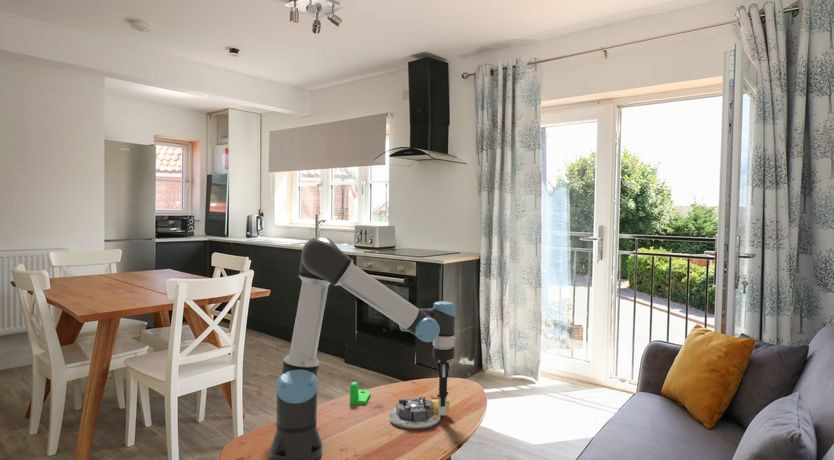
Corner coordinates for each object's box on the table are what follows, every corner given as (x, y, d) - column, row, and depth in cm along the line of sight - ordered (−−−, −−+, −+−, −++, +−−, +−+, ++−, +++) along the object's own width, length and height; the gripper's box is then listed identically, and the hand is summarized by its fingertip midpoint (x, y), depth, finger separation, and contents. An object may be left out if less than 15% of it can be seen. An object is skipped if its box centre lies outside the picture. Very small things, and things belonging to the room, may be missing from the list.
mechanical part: (365, 406, 182) (365, 385, 182) (349, 405, 183) (350, 384, 183) (371, 395, 194) (371, 375, 194) (356, 394, 195) (356, 374, 195)
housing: (398, 432, 159) (398, 414, 159) (383, 412, 176) (383, 396, 176) (456, 424, 166) (456, 407, 166) (436, 405, 183) (436, 390, 183)
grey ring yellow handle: (402, 422, 163) (402, 410, 163) (393, 408, 175) (393, 397, 175) (454, 417, 168) (454, 405, 168) (442, 404, 180) (442, 393, 180)
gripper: (455, 351, 161) (454, 422, 162) (453, 342, 174) (452, 407, 175) (432, 351, 161) (431, 421, 162) (432, 341, 175) (431, 407, 175)
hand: (442, 414), depth 168 cm, fingers closed
